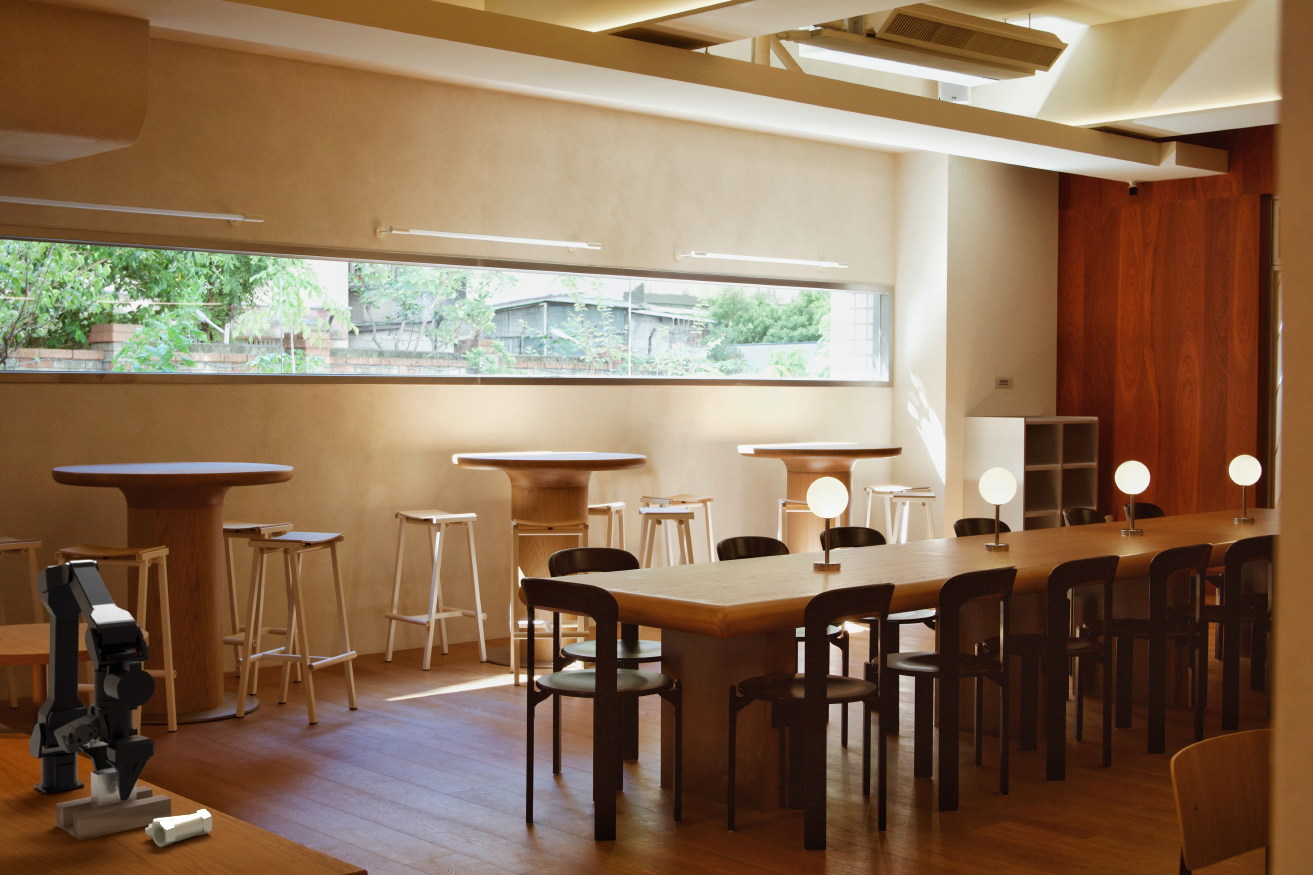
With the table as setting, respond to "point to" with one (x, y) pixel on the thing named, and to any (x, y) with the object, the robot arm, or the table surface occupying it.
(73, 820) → the grey u-channel
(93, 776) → the brushed metal bar
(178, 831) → the pipe fitting
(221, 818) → the table surface
